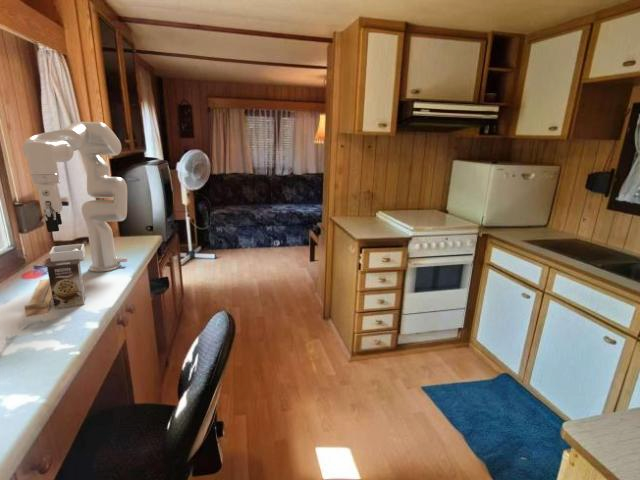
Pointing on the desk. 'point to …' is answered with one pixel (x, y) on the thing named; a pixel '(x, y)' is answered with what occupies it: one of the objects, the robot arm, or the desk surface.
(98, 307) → the desk surface
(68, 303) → the coffee box
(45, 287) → the oak board
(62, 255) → the parts corral
